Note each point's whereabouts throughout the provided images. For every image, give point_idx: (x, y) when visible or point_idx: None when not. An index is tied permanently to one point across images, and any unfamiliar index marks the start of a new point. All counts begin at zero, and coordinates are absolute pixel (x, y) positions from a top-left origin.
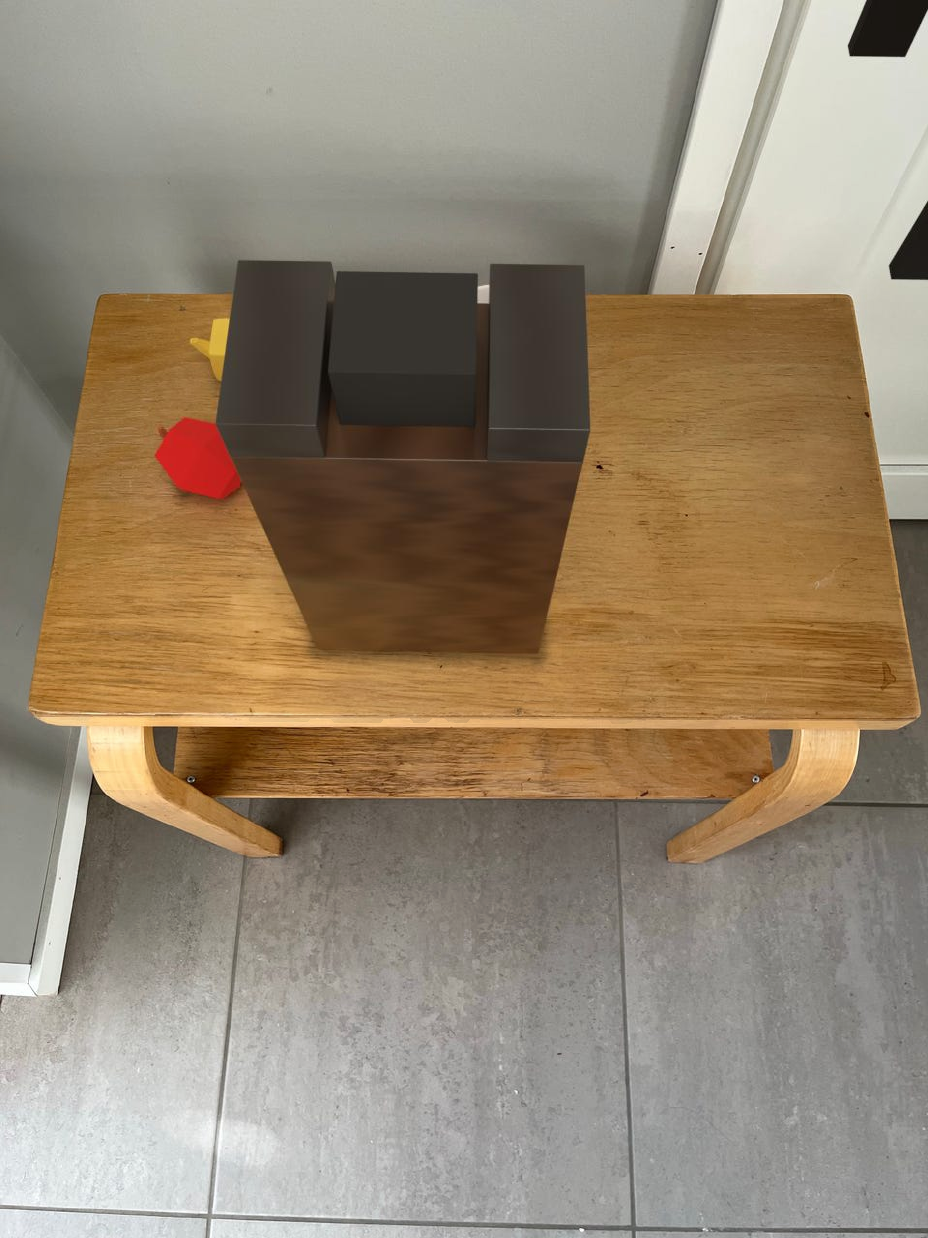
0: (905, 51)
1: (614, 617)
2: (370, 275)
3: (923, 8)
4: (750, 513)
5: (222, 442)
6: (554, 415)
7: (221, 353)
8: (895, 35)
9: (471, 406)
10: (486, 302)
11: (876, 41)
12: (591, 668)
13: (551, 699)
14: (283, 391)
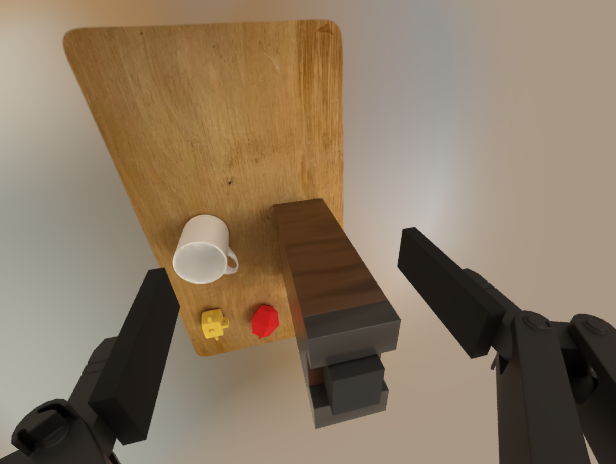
0: (164, 273)
1: (304, 170)
2: (334, 407)
3: (152, 304)
4: (241, 105)
5: (260, 320)
6: (392, 332)
7: (221, 331)
8: (165, 296)
9: None
10: (179, 264)
11: (171, 303)
12: (327, 177)
13: (339, 191)
14: None
